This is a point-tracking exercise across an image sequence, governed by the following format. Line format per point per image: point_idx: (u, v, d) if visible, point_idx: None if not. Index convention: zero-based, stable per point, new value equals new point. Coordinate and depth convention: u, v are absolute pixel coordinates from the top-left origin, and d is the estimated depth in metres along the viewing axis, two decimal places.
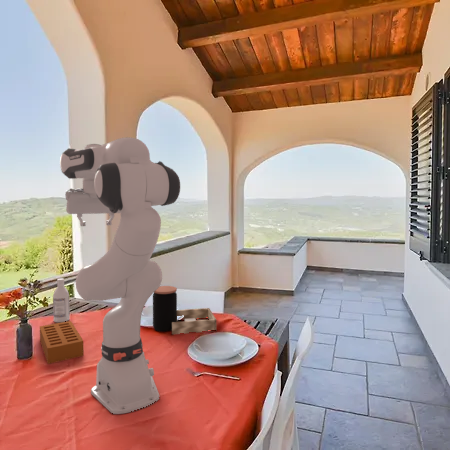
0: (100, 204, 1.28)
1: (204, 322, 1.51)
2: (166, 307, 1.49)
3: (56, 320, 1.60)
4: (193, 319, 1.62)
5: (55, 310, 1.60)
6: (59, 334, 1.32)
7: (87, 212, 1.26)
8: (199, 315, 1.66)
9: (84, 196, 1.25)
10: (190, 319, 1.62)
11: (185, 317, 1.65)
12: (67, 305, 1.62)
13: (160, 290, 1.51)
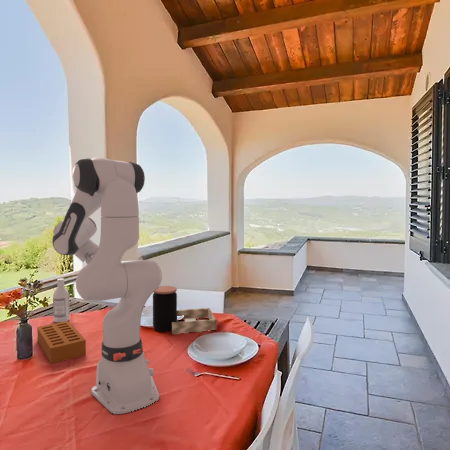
0: None
1: (204, 322, 1.51)
2: (166, 307, 1.49)
3: (56, 320, 1.60)
4: (193, 319, 1.62)
5: (55, 310, 1.60)
6: (59, 334, 1.32)
7: None
8: (199, 315, 1.66)
9: (94, 255, 1.41)
10: (190, 319, 1.62)
11: (185, 317, 1.65)
12: (67, 305, 1.62)
13: (160, 290, 1.51)
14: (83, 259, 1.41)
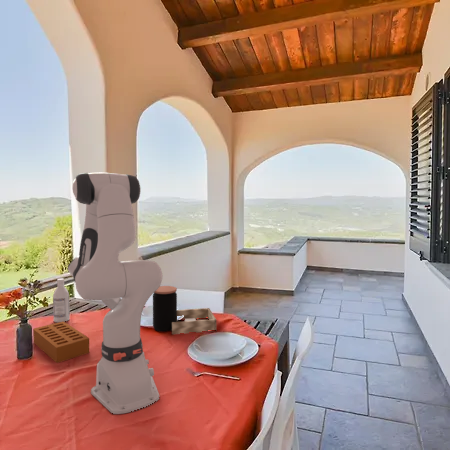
0: None
1: (204, 322, 1.51)
2: (166, 307, 1.49)
3: (56, 320, 1.60)
4: (193, 319, 1.62)
5: (55, 310, 1.60)
6: (60, 334, 1.32)
7: (118, 299, 1.46)
8: (199, 315, 1.66)
9: None
10: (190, 319, 1.62)
11: (185, 317, 1.65)
12: (67, 305, 1.62)
13: (160, 290, 1.51)
14: None
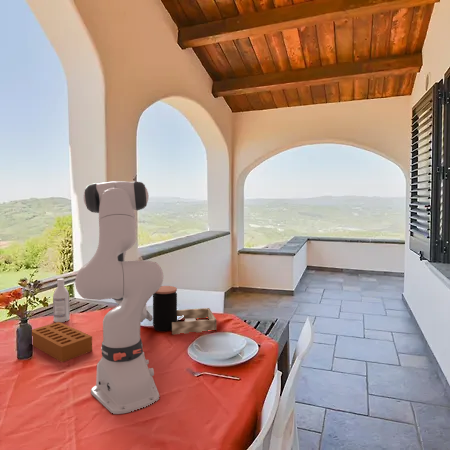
0: None
1: (204, 322, 1.51)
2: (166, 307, 1.49)
3: (56, 320, 1.60)
4: (193, 319, 1.62)
5: (55, 310, 1.60)
6: (60, 334, 1.32)
7: (146, 311, 1.49)
8: (199, 315, 1.66)
9: None
10: (190, 319, 1.62)
11: (185, 317, 1.65)
12: (67, 305, 1.62)
13: (160, 290, 1.51)
14: None
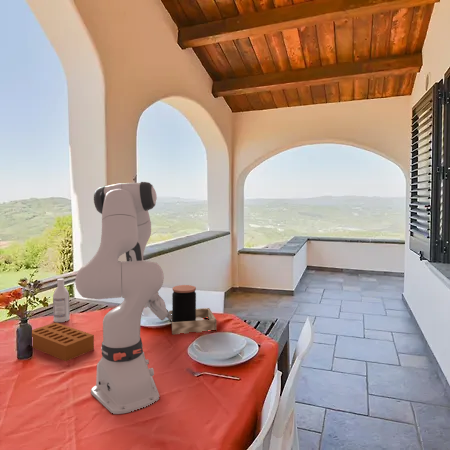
0: (161, 302, 1.55)
1: (204, 322, 1.51)
2: (185, 306, 1.51)
3: (56, 320, 1.60)
4: (199, 317, 1.64)
5: (55, 310, 1.60)
6: (60, 334, 1.32)
7: (166, 310, 1.51)
8: (199, 315, 1.66)
9: (157, 301, 1.49)
10: (196, 318, 1.63)
11: None
12: (67, 305, 1.62)
13: (179, 289, 1.53)
14: (146, 305, 1.49)
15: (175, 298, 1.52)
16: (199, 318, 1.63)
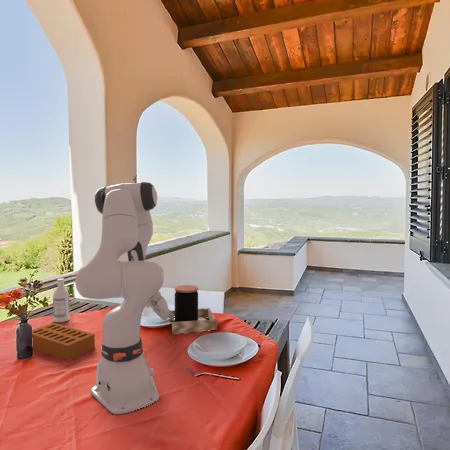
0: (163, 302, 1.55)
1: (204, 322, 1.51)
2: (187, 306, 1.51)
3: (56, 320, 1.60)
4: (200, 317, 1.64)
5: (55, 310, 1.60)
6: (60, 334, 1.32)
7: (168, 310, 1.52)
8: (199, 315, 1.66)
9: (159, 301, 1.49)
10: (198, 318, 1.64)
11: None
12: (67, 305, 1.62)
13: (182, 289, 1.53)
14: (148, 305, 1.49)
15: (177, 298, 1.52)
16: (201, 318, 1.63)
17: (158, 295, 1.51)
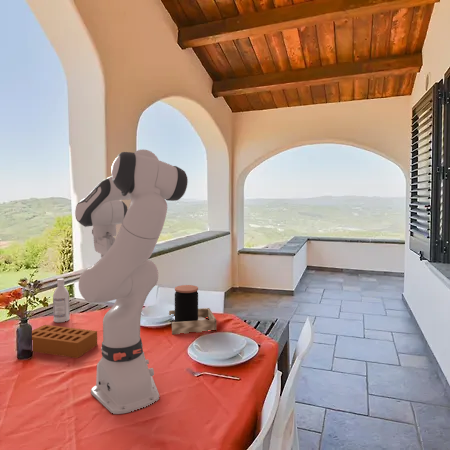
0: None
1: (204, 322, 1.51)
2: (187, 306, 1.51)
3: (56, 320, 1.60)
4: (201, 317, 1.64)
5: (55, 310, 1.60)
6: (61, 334, 1.33)
7: None
8: (199, 315, 1.66)
9: None
10: (198, 318, 1.64)
11: None
12: (67, 305, 1.62)
13: (182, 289, 1.53)
14: (100, 234, 1.34)
15: (177, 298, 1.52)
16: (201, 318, 1.63)
17: (115, 233, 1.38)
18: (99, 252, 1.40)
